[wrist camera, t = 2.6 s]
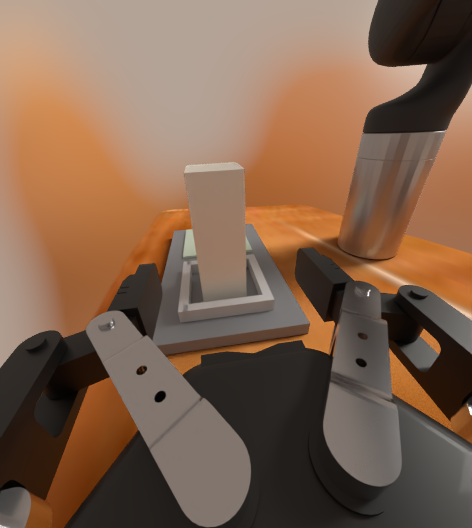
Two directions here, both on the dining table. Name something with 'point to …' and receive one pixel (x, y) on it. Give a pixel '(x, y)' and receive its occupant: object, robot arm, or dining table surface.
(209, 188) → the cream block
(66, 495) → the dining table surface
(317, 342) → the dining table surface
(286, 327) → the grey tray
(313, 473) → the robot arm
